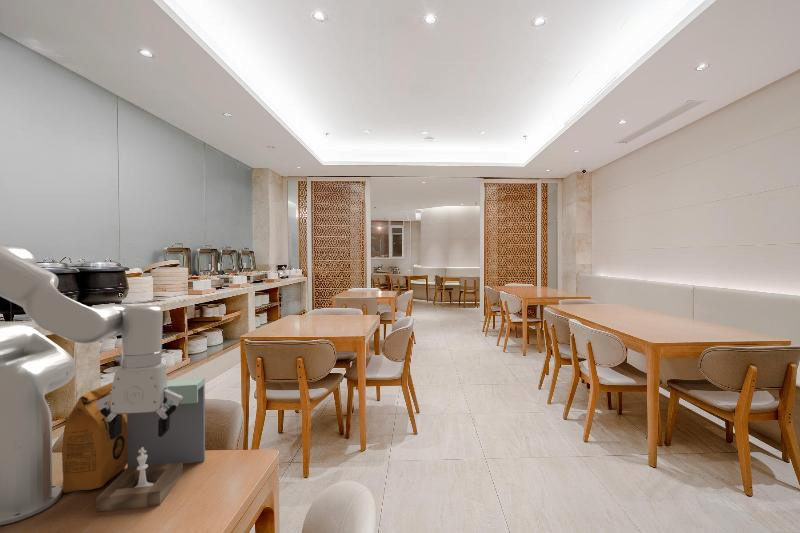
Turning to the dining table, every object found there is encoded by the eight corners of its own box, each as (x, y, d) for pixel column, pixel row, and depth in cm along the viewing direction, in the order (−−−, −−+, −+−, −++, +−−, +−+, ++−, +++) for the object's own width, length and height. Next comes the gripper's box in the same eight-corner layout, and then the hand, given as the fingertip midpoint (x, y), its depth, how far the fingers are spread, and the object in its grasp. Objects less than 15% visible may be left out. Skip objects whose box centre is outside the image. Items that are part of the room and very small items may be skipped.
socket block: (96, 512, 76) (96, 497, 76) (128, 479, 88) (128, 467, 88) (159, 505, 78) (159, 491, 78) (182, 474, 90) (182, 462, 90)
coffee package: (136, 464, 95) (136, 379, 95) (100, 494, 82) (99, 396, 82) (96, 466, 94) (96, 380, 94) (53, 496, 82) (53, 397, 82)
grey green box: (117, 478, 88) (116, 389, 89) (129, 466, 94) (129, 382, 94) (197, 470, 92) (196, 384, 92) (205, 459, 97) (204, 378, 97)
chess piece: (141, 499, 80) (141, 454, 80) (123, 497, 81) (123, 452, 81) (160, 486, 85) (160, 443, 85) (143, 484, 86) (142, 441, 86)
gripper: (87, 365, 78) (85, 445, 78) (176, 363, 81) (173, 440, 81) (109, 356, 85) (106, 430, 85) (189, 355, 88) (187, 426, 88)
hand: (139, 435), depth 83 cm, fingers open, 9 cm apart
